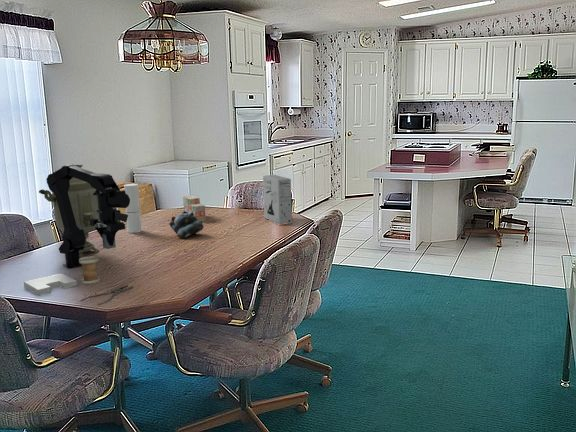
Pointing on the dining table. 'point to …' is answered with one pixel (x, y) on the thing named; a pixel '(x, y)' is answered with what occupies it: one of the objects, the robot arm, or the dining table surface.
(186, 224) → the dark grey lumpy cluster
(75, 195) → the samovar
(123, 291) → the pliers
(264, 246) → the dining table surface
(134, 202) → the cylindrical container
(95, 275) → the bobbin
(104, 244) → the steel block
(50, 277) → the notched board
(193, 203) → the stack of blocks
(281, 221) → the cereal box
